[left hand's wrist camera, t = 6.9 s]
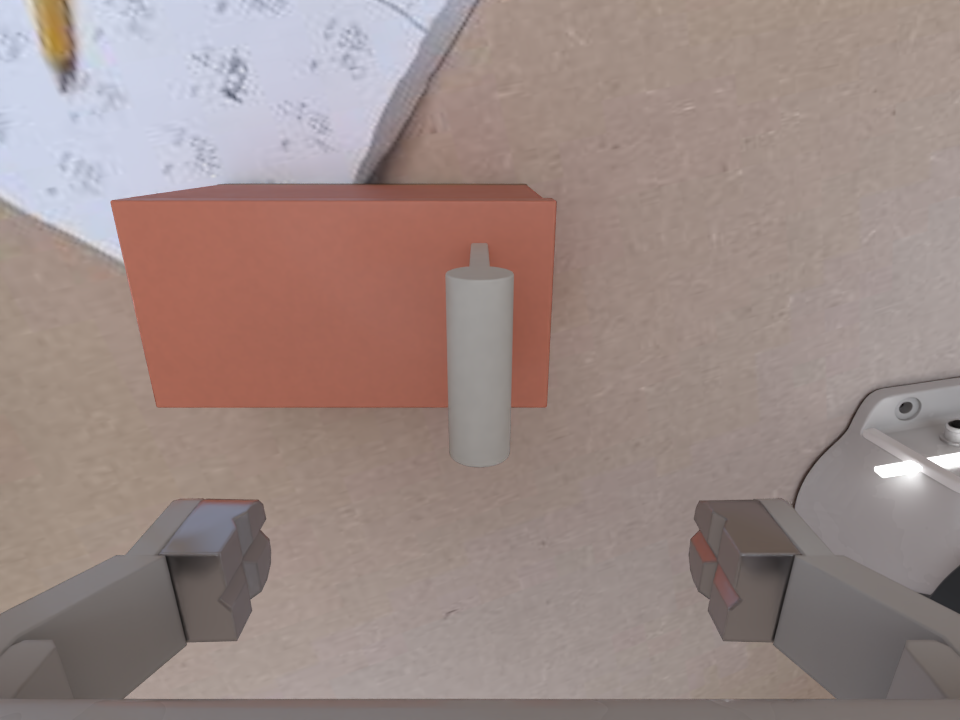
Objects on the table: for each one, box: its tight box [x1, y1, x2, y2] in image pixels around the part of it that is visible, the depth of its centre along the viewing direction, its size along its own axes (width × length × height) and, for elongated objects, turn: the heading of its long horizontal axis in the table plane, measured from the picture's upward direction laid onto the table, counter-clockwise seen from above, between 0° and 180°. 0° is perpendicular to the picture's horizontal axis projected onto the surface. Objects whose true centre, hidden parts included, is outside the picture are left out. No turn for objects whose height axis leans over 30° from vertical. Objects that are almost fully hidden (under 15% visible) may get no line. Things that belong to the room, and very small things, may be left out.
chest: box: [131, 184, 542, 198], centre depth 30 cm, size 18×9×10 cm, turn 90°
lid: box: [111, 198, 557, 467], centre depth 21 cm, size 18×9×9 cm, turn 90°
